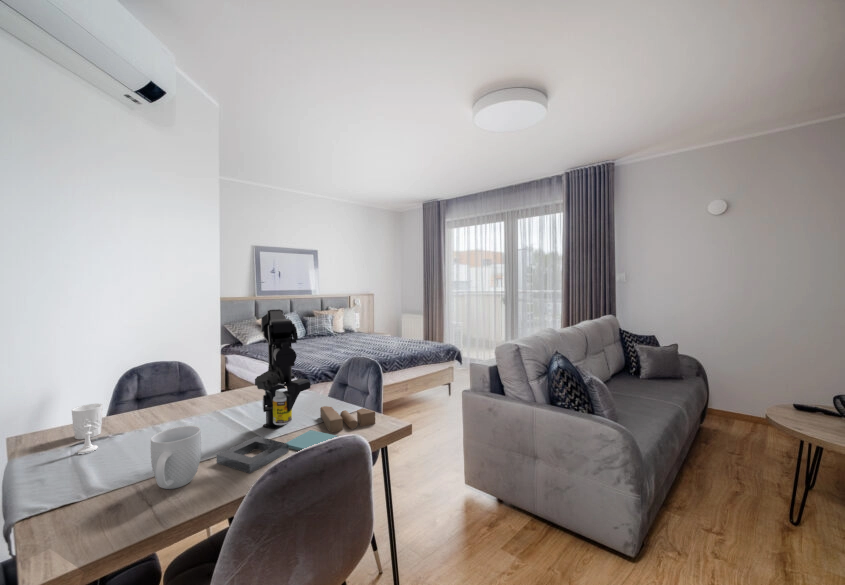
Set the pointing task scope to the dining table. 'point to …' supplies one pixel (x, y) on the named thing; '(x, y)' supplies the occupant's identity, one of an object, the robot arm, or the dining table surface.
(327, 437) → the mat
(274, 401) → the supplement bottle
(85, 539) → the dining table surface
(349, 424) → the wooden block set
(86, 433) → the chess piece
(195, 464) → the mug
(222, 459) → the frame
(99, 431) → the white cup
